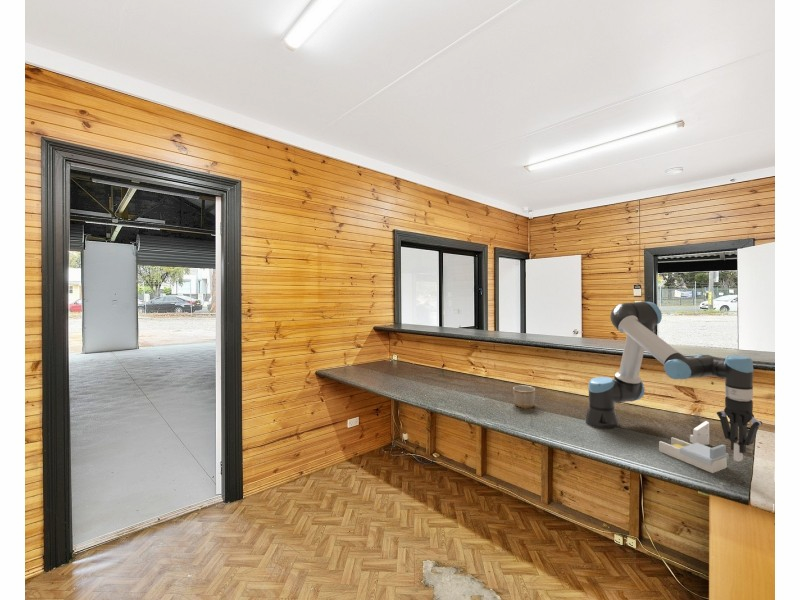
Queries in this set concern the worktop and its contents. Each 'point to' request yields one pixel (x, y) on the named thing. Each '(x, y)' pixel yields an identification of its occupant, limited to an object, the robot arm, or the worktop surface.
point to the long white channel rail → (675, 453)
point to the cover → (704, 452)
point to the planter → (524, 396)
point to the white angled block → (701, 434)
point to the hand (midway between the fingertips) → (738, 459)
